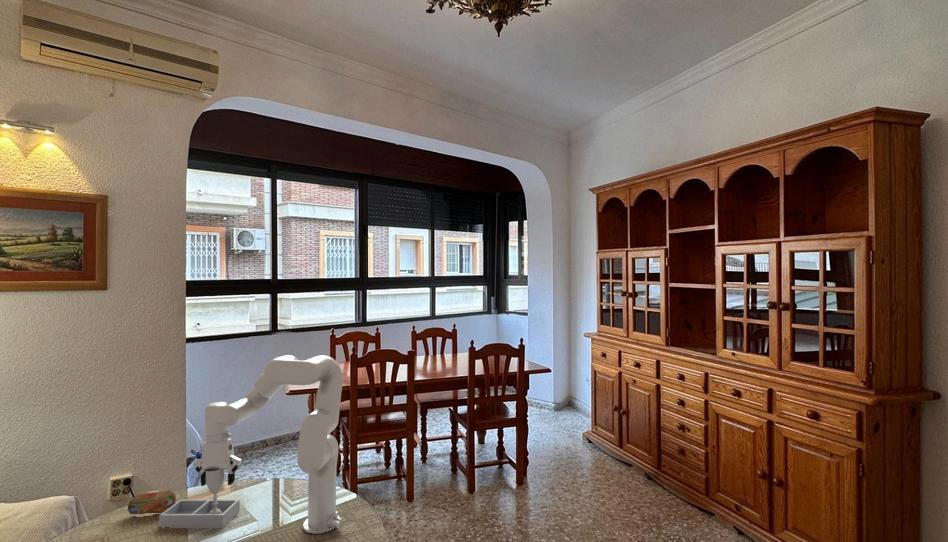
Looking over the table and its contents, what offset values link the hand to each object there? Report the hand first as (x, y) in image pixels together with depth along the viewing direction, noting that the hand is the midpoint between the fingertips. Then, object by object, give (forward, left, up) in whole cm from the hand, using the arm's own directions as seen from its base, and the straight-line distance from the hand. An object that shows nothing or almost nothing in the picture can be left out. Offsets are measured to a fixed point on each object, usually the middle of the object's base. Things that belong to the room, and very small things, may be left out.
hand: (217, 484), depth 168 cm
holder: (+5, +3, -13) cm, 14 cm away
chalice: (+1, 0, -12) cm, 12 cm away
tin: (+25, +9, -13) cm, 30 cm away
